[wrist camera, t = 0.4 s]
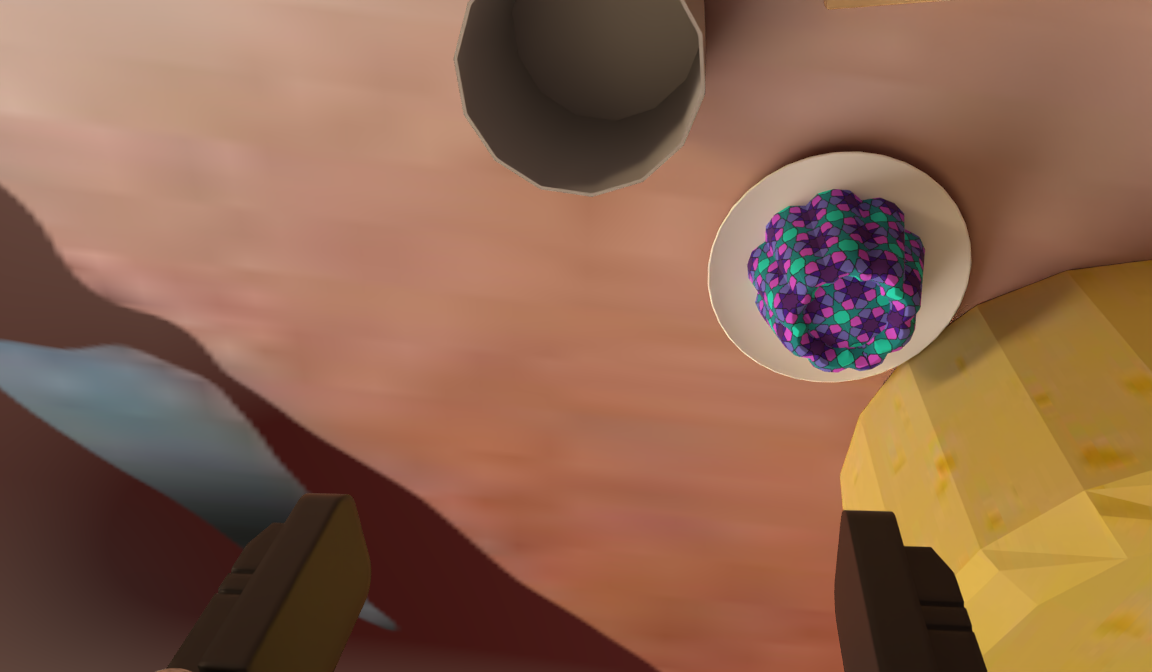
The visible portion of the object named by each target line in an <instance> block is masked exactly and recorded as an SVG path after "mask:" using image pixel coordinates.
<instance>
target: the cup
mask: <svg viewBox="0 0 1152 672" xmlns="http://www.w3.org/2000/svg"><path fill="white" fill-rule="evenodd" d="M454 64H455V70H456V75H457V81H458V86H459V92H460V97H461V102H462V108H463V113H464V116H465V117H466V119H467V120H468V122H469V123H470V125H471V126H472V128H473V129H474V131H475V132H476V133H477V135H478V136H479V138H480V139H481V141H482V142H483V144H484V145H485V147H486V148H487V150H488V151H489V153H490V154H491V156H492V157H493V159H494V160H495V161H496V162H498V163H500V164H501V165H503V166H504V167H506V168H508V169H509V170H511V171H512V172H514V173H515V174H517V175H519V176H520V177H522V178H523V179H525V180H526V181H528V182H530V183H531V184H533V185H534V186H536V187H538V188H539V189H542V190H549V191H556V192H563V193H570V194H576V195H583V196H590V197H593V196H597V195H600V194H604V193H607V192H610V191H614V190H617V189H620V188H624V187H627V186H631V185H634V184H637V183H641V182H643V181H644V180H646V179H647V178H648V177H649V176H650V175H651V174H652V173H653V172H654V171H656V170H657V169H658V168H659V167H660V166H661V165H662V164H663V163H665V162H666V161H667V160H668V159H669V158H670V157H671V156H672V155H674V154H675V153H676V152H677V151H678V150H679V149H680V148H681V147H682V146H683V145H684V143H685V141H686V138H687V136H688V133H689V131H690V129H691V126H692V124H693V121H694V119H695V117H696V114H697V112H698V109H699V107H700V105H701V102H702V100H703V98H704V95H705V65H706V29H705V7H704V0H470V1H469V2H468V4H467V8H466V12H465V16H464V19H463V23H462V27H461V31H460V35H459V39H458V43H457V47H456V51H455V55H454Z"/></svg>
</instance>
